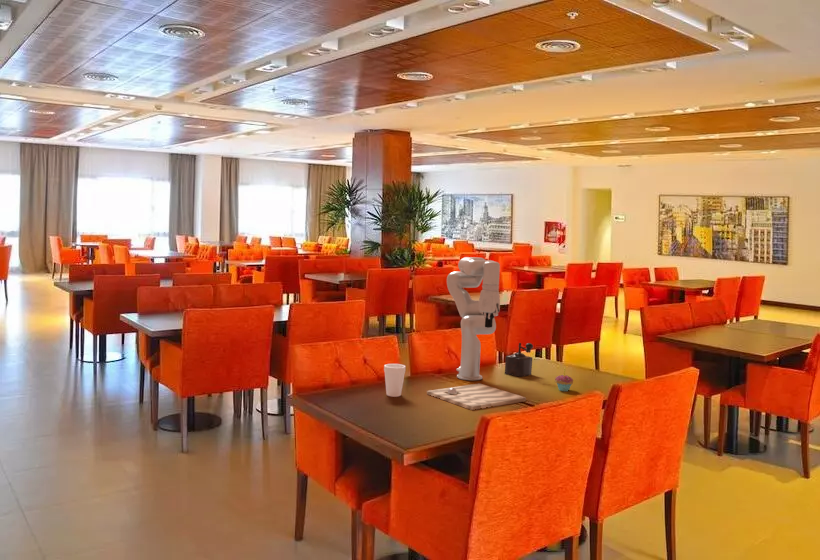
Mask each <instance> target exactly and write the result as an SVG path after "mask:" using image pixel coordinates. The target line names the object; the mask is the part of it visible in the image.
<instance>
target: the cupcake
mask: <svg viewBox="0 0 820 560" xmlns="http://www.w3.org/2000/svg"><path fill="white" fill-rule="evenodd" d="M554 382H555V383H556V385H557V388H558V391H559V392H561V391H562V392H569V391H570V388H571V386H572V385H573V384H574V379H573V378H572V377H571V376H569V375H566V366H564V368H563V374H560V375H557V376H556V377H555V378H554ZM568 390H569V391H568Z"/></svg>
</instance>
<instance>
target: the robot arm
mask: <svg viewBox="0 0 820 560" xmlns="http://www.w3.org/2000/svg"><path fill="white" fill-rule="evenodd" d="M457 263H458V264H457V266H458V270H457V271H452V272H450V273H448V275H447V277H446V286H447V290H448V292H449V294H450V296H451V297H452V299H453V301H454V302H455V305H456V308H457V311H458V313H459V316H460V318H461V320H460V328H461V329H460V331H461V349H460V350H461V351H460V352H461V353H460V366H458V368H456V371H457V372H458V373H457V374H456V378H458V379H459V380H463V381H473V382H474V381H480V380H482V379H483V375H481V374H480V366H481V365H480V364H481V351H482V350H481V347H482V346H481V345H482V344H481V341H480V339H479V337H478V336H477V335H492V334H494V333H495V331H496V329H497V323H496V319H495V318H496V317H497V316H499V313H500V310H501V309H500V308H501V299H500V298H501V297H500V292H499V291H500V290H499V289H500V272H501V271H500V270H501V264H500V263H499V262H498V261H494V260H491V259H485V258H483V257H478V256H476V257H475V256H473V257H472V256H470V257H469V256H464V257H463V258H461V259H460V260H459V261H458V262H457ZM481 284H482V285H481ZM480 285H481V287H482V290H480V294H479V297H478V298H479V299H478V300H473V299H472V297H471V295H470V293H469V292H468V291H467V290H466V289H467V288H468V289H469V288H472V289H473V288H474V289H475V288H478V287H480ZM465 288H466V289H465Z"/></svg>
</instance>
